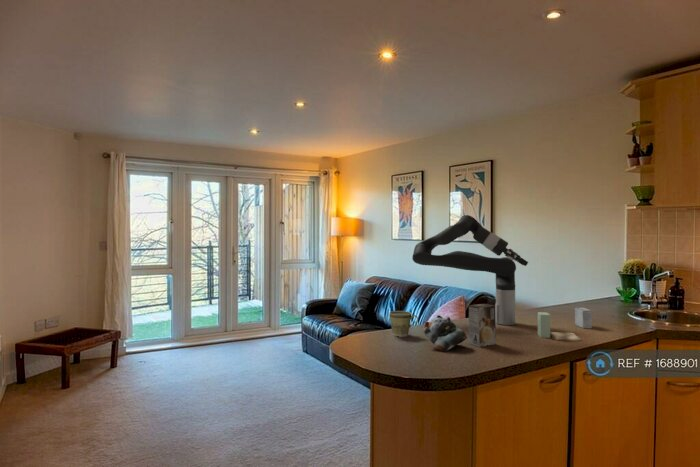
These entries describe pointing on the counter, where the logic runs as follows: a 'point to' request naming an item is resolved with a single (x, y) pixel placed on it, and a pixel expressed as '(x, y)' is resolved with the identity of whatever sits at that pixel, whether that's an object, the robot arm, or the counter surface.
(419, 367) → the counter surface
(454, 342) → the grey stuffed animal
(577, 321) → the medicine box
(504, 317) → the robot arm
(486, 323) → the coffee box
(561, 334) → the beech board
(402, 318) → the ceramic cup
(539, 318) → the sage block
